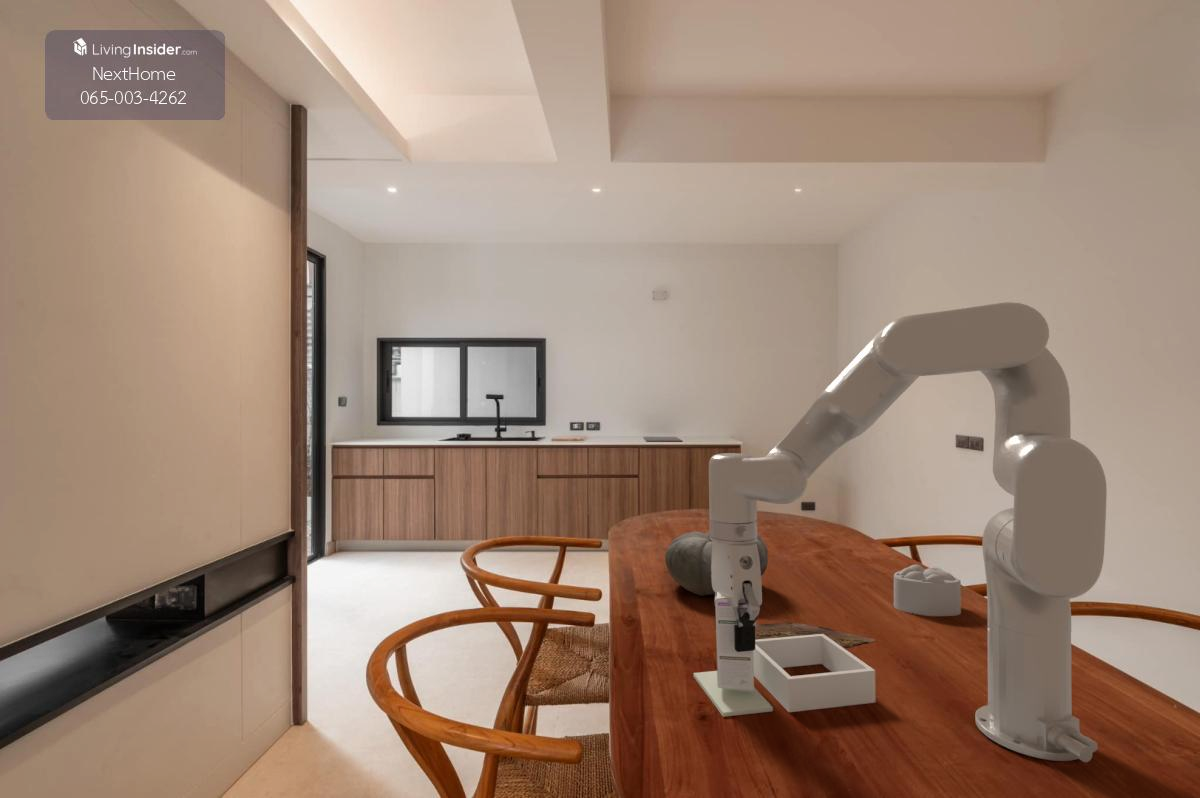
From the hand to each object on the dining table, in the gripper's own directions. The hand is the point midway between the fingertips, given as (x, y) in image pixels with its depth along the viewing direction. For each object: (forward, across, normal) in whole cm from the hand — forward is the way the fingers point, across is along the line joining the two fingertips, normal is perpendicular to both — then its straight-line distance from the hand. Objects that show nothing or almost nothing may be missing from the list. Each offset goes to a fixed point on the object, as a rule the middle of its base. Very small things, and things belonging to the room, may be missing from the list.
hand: (734, 639), depth 95 cm
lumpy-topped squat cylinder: (+9, +28, -57) cm, 64 cm away
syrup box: (+7, 0, 0) cm, 7 cm away
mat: (+9, 0, +1) cm, 9 cm away
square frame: (+9, 0, -13) cm, 15 cm away
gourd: (+9, +50, -16) cm, 53 cm away
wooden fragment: (+9, +19, -23) cm, 31 cm away
